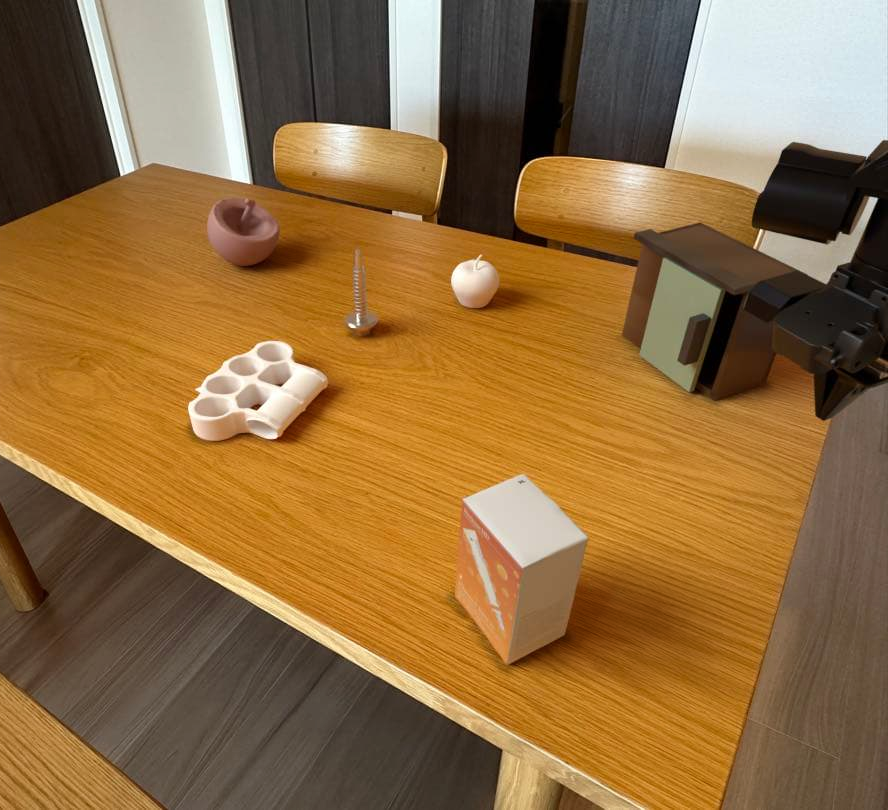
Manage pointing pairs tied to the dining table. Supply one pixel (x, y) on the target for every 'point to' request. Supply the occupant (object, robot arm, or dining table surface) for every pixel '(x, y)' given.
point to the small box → (518, 566)
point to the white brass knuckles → (255, 394)
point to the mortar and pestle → (242, 231)
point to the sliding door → (681, 323)
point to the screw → (360, 301)
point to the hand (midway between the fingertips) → (823, 417)
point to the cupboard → (736, 331)
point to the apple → (475, 283)
